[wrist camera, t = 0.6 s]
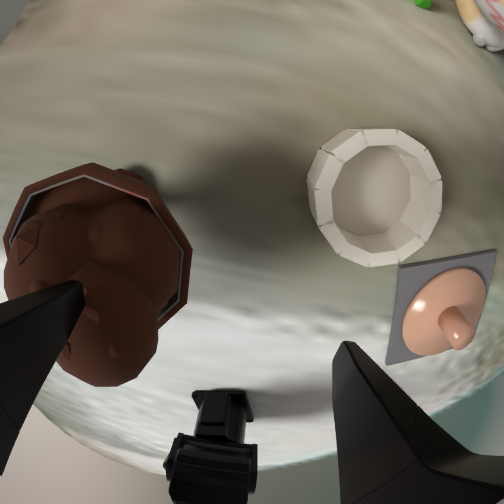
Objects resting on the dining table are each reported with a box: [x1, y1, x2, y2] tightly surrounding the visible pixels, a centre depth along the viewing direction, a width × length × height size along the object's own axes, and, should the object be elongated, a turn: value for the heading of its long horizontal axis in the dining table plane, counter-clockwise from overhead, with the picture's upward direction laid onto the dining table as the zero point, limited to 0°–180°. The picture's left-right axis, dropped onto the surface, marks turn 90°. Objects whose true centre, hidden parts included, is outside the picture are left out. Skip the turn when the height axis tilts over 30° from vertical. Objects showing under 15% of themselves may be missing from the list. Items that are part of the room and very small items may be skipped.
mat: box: [385, 249, 497, 366], centre depth 24 cm, size 12×12×1 cm
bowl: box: [306, 128, 442, 267], centre depth 18 cm, size 9×9×4 cm
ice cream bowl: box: [3, 163, 193, 387], centre depth 14 cm, size 11×11×15 cm
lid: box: [401, 267, 486, 356], centre depth 21 cm, size 10×10×4 cm
